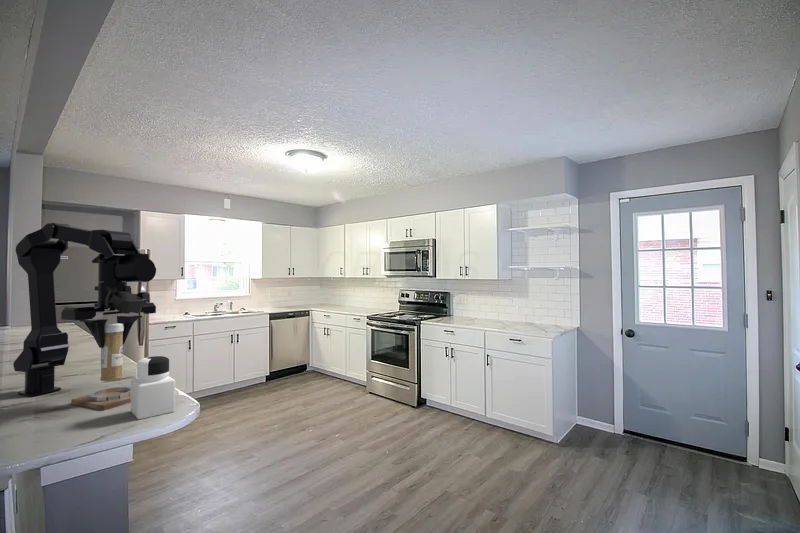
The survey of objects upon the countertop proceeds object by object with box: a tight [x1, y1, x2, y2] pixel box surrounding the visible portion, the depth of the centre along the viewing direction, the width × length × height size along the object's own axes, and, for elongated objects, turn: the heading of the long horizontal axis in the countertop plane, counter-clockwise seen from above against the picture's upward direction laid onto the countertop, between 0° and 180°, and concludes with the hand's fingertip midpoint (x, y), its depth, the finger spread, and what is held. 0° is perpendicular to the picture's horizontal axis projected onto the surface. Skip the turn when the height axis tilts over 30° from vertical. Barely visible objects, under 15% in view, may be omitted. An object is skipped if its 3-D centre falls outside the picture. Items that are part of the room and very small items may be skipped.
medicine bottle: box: [130, 355, 176, 420], centre depth 88 cm, size 7×7×12 cm
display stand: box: [70, 385, 131, 411], centre depth 96 cm, size 12×11×2 cm
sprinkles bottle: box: [100, 322, 124, 382], centre depth 96 cm, size 5×5×14 cm
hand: (111, 346), depth 96 cm, fingers closed on sprinkles bottle, 4 cm apart
